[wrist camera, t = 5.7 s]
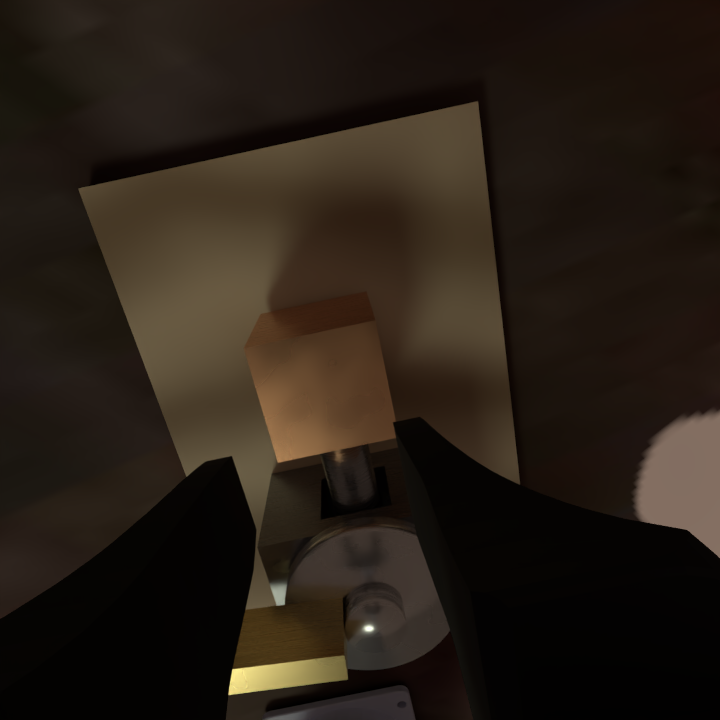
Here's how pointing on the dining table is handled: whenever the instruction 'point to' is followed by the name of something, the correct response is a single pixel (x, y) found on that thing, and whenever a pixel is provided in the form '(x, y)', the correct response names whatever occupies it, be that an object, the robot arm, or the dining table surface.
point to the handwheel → (343, 610)
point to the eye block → (318, 512)
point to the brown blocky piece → (325, 391)
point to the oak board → (316, 283)
